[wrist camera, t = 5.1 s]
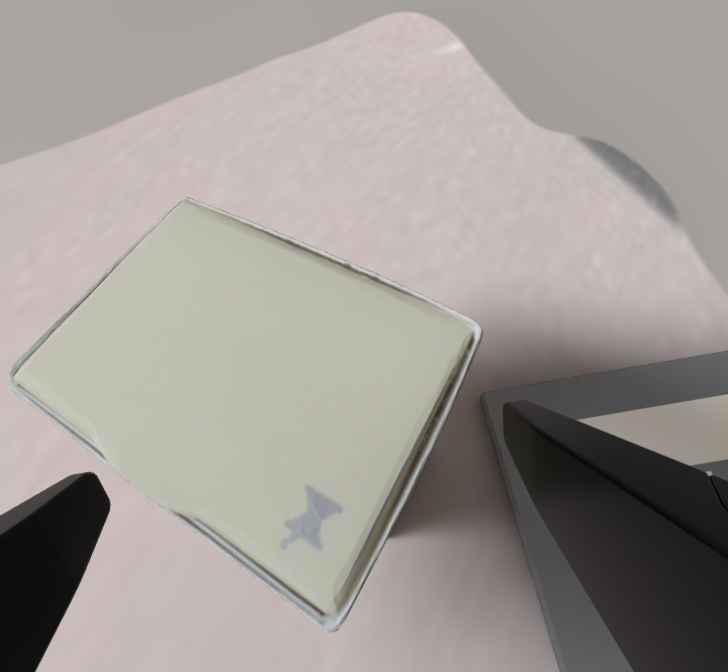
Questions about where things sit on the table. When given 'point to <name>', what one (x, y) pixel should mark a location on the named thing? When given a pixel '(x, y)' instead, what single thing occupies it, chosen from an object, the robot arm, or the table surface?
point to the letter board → (635, 424)
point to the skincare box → (257, 395)
